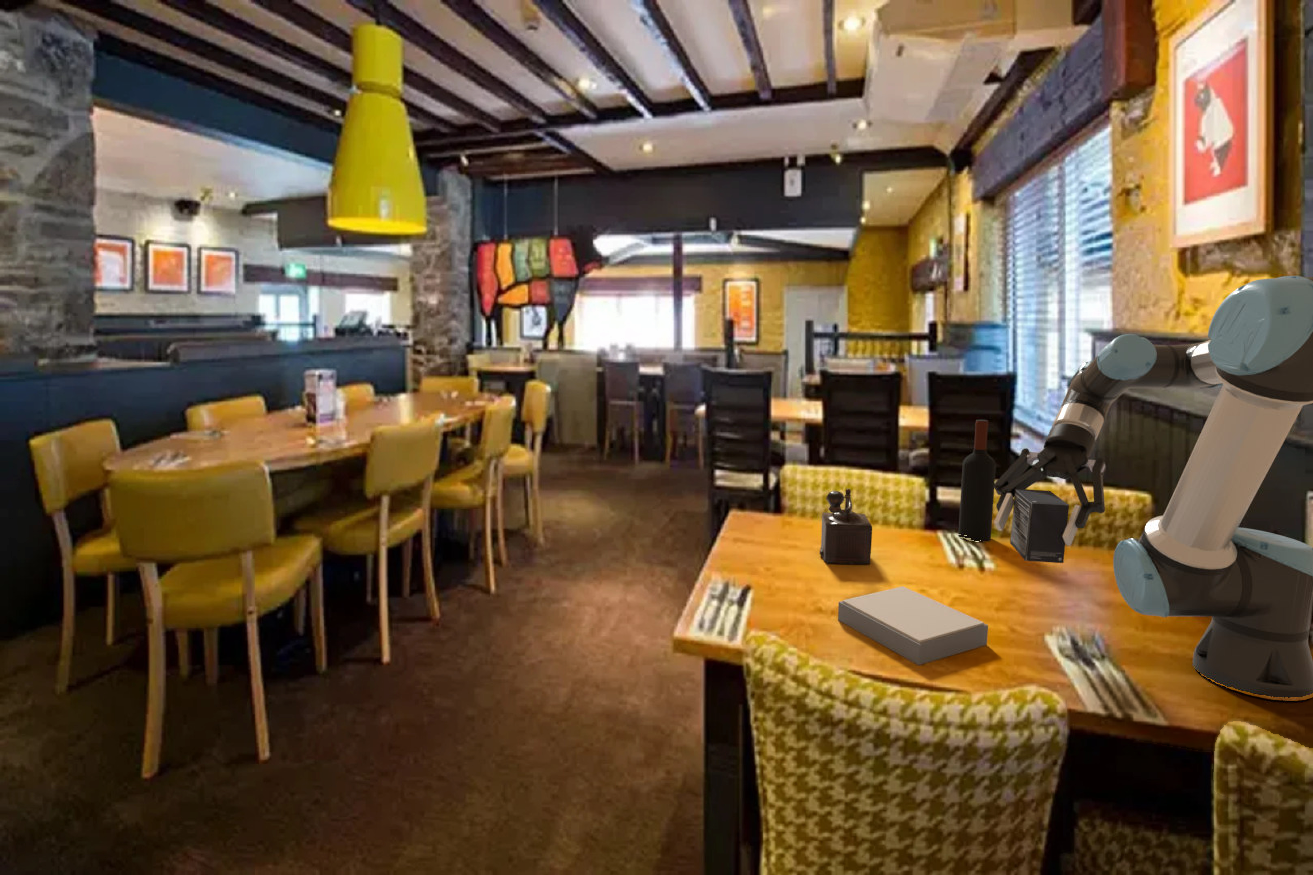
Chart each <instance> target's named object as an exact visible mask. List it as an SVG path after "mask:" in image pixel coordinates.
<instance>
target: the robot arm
mask: <svg viewBox="0 0 1313 875" xmlns="http://www.w3.org/2000/svg"><path fill="white" fill-rule="evenodd" d="M1207 337H1208V338H1209V340H1205V341H1202V342H1196V343H1191V344H1153V343H1152V342H1151V341H1150V340H1149V339H1148V338H1146V337H1142V336H1139V335H1137V334H1134V333H1125V334H1122V335H1119V336H1117V337H1115V338H1114V339H1113V340H1112V341H1110V342H1109V343H1108V344H1107V345H1106V346H1104V347H1103V348H1101V350H1100V351H1099V353H1098V354H1097V355H1096V356H1095V357H1094V358H1093V359H1091V360H1089V361H1085V362H1083V363H1081V364H1080V365H1079V366H1078V368H1077V370H1076V372H1075V374H1073V376H1072V378H1071V381H1070V385H1069V387H1068V389H1067V391H1066V394H1065V396H1064V398H1063V402H1061V406H1060V407H1059V410H1058V412H1057V415H1056V417H1055V419H1054V421H1053V423H1052V425H1051V426H1052V427H1051V428H1050V430H1049V433H1048V435H1047V437H1046V439H1045V441H1044V444H1043V447H1042V448H1041V450H1040V451H1038V452H1035V451H1030V449H1029V448H1023V449H1022V450H1021V452H1020V454H1019V457H1018V458H1017V459H1016V460H1015V461H1014V462H1013V464H1011V466H1009V467H1008V469H1006V471H1005V472H1004V473H1003V474H1001V476H1000V477H999V478H998V479H997V480H995V484H994V491H995V493H996V495H998V496H999V499H998V500H997V503H996V506H995V507H996V510H997V514H996V517H995V519H994V521H993V523H994V525H995V527H996V529H997V531H1000V532H1003V530H1004V528H1005V526H1006V523H1007V521H1008V519H1009V517H1010V514H1011V512H1012V510H1013V509H1014V495H1015V494H1014V491H1015V489H1028V488H1029V487H1031V486H1033V485H1034V484H1035V483H1036V482H1038V481H1039V480H1044V479H1046V478H1047V477H1049V478H1059V479H1061V480H1067V479H1070V480H1071V482H1072V485H1073V487H1074V490H1075V493H1076V495H1077V497H1078V500H1079V503H1080V505H1079V504H1075V505H1074V507H1073V509H1072V511H1071V515H1070V517H1069V518H1068V519H1069V520H1068V521H1067V526H1066V529H1065V531H1064V534H1063V536H1062V537H1063V539H1064V542H1065V546H1070V547H1071V546H1072V543H1073V542H1074V539H1075V536H1076V534H1077V531H1078V529H1082V530H1083V529H1084V528H1085V527H1086V525H1087V523H1088V520H1089V517H1090V515H1091V514H1092V513H1098V514H1103V513H1105V511H1106V509H1105V508H1106V506H1105V492H1104V490H1105V489H1104V478H1103V477H1104V474H1105V472H1106V470H1107V466H1106V464H1105V460H1104V458H1101V457H1098V458H1096V459H1095V460H1094V459H1090V457H1091V454H1092V452H1093V449H1094V447H1095V445H1096V440H1097V438H1098V437H1099V434H1100V433H1101V432H1100V431H1101V429H1102V427H1103V425H1104V423H1105V422H1104V421H1105V419H1106V417H1107V414H1108V412H1109V410H1110V407H1111V406H1112V404H1113V403H1114V402H1115V401H1116V400H1117V399H1118V398H1119V397H1121V396H1123V394H1124V393H1125V392H1126V391H1127V390H1128V389H1166V388H1167V389H1169V388H1171V389H1172V388H1174V389H1175V388H1176V389H1177V388H1178V389H1179V388H1181V389H1188V388H1189V389H1215V388H1220V390H1219V392H1218V394H1217V397H1216V399H1215V401H1214V403H1213V405H1212V408H1211V409H1210V412H1209V414H1208V417H1207V418H1206V420H1205V423H1204V425H1203V428H1202V430H1201V433H1200V434H1199V436H1198V438H1197V440H1196V443H1195V445H1194V448H1193V450H1192V451H1191V454H1190V456H1189V458H1188V461H1187V462H1186V465H1185V467H1184V469H1183V471H1182V474H1181V476H1180V478H1179V480H1178V483H1177V485H1176V487H1175V488H1174V491H1173V494H1172V496H1171V498H1170V500H1169V502H1168V504H1167V507H1166V509H1165V511H1164V513H1163V515H1162V514H1161V515H1159V516H1156V517H1153V518H1151V519H1150V520H1148V522H1147V523H1146V525H1145V526H1144V529H1143V531H1142V533H1141V535H1140V537H1139V538H1137V539H1136V538H1130V537H1129V538H1128V539H1124V540H1123V539H1122V540H1121V541H1119V542H1118V543H1117V545H1116V547H1115V549H1114V552H1113V561H1112V567H1113V574H1114V578H1115V583H1116V585H1117V588H1118V591H1119V593H1120V595H1121V597H1122V598H1123V600H1124V601H1125V602H1126V604H1127V606H1129V608H1131V609H1132V610H1133V611H1135V612H1136V613H1139V614H1140V615H1145V616H1155V617H1161V618H1167V617H1177V618H1179V617H1186V618H1187V617H1193V618H1194V617H1195V618H1198V617H1201V618H1202V617H1207V618H1208V617H1211V622H1210V623H1209V625H1208V626H1207V628H1206V629H1205V632H1204V633H1203V635H1202V636H1201V638H1200V640H1199V641H1198V642H1197V645H1196V646H1195V647H1194V650H1193V656H1192V663H1193V664H1192V667H1193V666H1194V667H1195V669H1196V670H1198V671H1199V672H1200V673H1201V674H1203V675H1204V676H1206V677H1207V678H1210V679H1212V680H1214V681H1215V682H1217V683H1220V684H1223V685H1225V686H1227V687H1233V688H1235V689H1238V690H1241V691H1246V692H1250V693H1253V694H1258V695H1266V696H1271V697H1272V696H1273V697H1284V698H1285V697H1288V698H1290V697H1303V696H1306V695H1310V694H1312V693H1313V656H1312V652H1311V649H1310V646H1309V634H1310V629H1311V624H1312V623H1311V622H1312V616H1313V547H1312V546H1311V545H1309V544H1307V543H1304V542H1302V541H1300V540H1297V539H1294V538H1292V537H1287V536H1284V535H1280V534H1276V533H1273V532H1269V531H1264V530H1258V529H1253V528H1247V527H1240V525H1241V522H1242V521H1243V518H1244V517H1245V515H1246V513H1247V511H1248V509H1249V507H1250V505H1251V504H1252V502H1253V500H1254V498H1255V496H1256V495H1257V492H1258V490H1259V489H1260V487H1261V485H1262V483H1263V481H1264V479H1265V478H1266V476H1267V474H1268V472H1269V470H1270V468H1271V467H1272V464H1273V462H1274V460H1275V459H1276V457H1277V455H1278V453H1279V452H1280V450H1281V448H1282V446H1283V445H1284V442H1285V440H1286V439H1287V436H1288V435H1289V433H1290V431H1291V428H1292V427H1293V425H1294V423H1295V422H1296V419H1297V418H1298V415H1299V414H1300V412H1301V410H1302V408H1303V406H1306V405H1310V404H1313V276H1301V275H1287V276H1283V275H1282V276H1279V277H1276V278H1274V277H1273V278H1263V279H1262V278H1261V279H1255V280H1252V281H1250V282H1248V283H1246V284H1244V285H1241V286H1239V287H1237V288H1236V289H1235V290H1232V292H1230V294H1229V295H1227V297H1225V298H1224V300H1223V301H1222V302H1221V303H1220V304H1219V306H1218V308H1216V310H1215V312H1214V314H1213V316H1212V318H1211V322H1210V323H1209V327H1208V332H1207ZM1035 461H1037V462H1036V463H1034V462H1035ZM1033 463H1034V464H1033ZM1030 465H1032V467H1031V468H1030V469H1029V470H1027V469H1028V468H1029V466H1030ZM1087 468H1089V470H1090V472H1091V473H1092V476H1091V477H1092V489H1093V490H1092V491H1093V501H1089V499H1088V496H1087V494H1086V492H1085V489H1084V486H1083V484H1082V481H1081V479H1080V476H1079V473H1081V472H1082V471H1084V470H1085V469H1087ZM1194 667H1193V668H1194ZM1195 669H1194V670H1195ZM1196 670H1195V671H1196Z"/></svg>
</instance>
